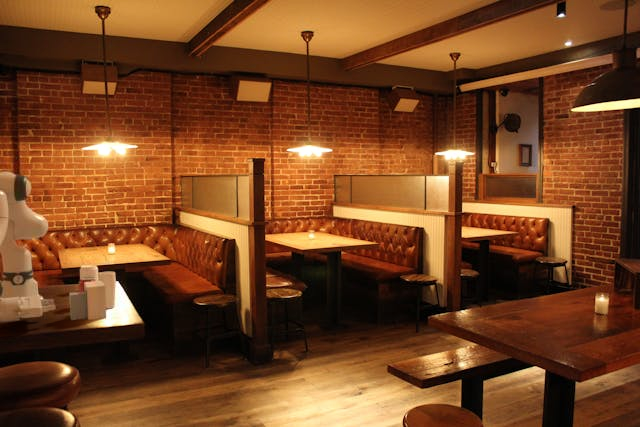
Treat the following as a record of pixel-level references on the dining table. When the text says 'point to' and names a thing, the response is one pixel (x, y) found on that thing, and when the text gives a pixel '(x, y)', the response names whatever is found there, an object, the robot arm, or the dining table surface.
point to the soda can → (85, 279)
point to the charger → (78, 305)
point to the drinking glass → (108, 287)
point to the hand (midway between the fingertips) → (54, 304)
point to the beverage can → (89, 271)
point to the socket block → (95, 299)
